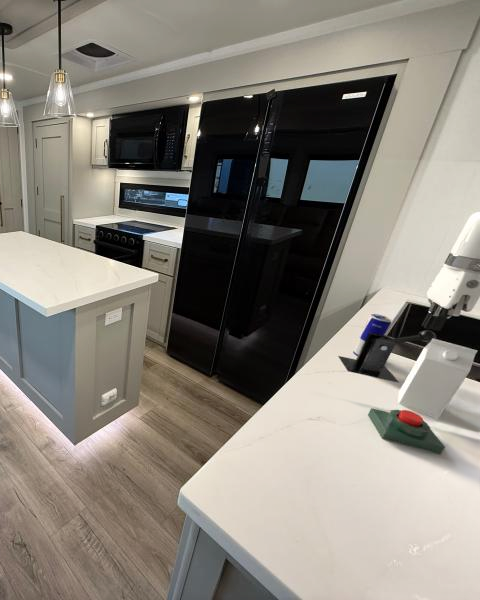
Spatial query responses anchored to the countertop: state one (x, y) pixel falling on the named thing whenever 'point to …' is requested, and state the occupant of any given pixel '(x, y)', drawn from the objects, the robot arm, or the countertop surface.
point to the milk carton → (436, 377)
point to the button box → (405, 431)
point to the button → (410, 418)
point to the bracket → (372, 358)
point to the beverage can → (373, 329)
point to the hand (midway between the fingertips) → (430, 328)
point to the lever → (412, 337)
